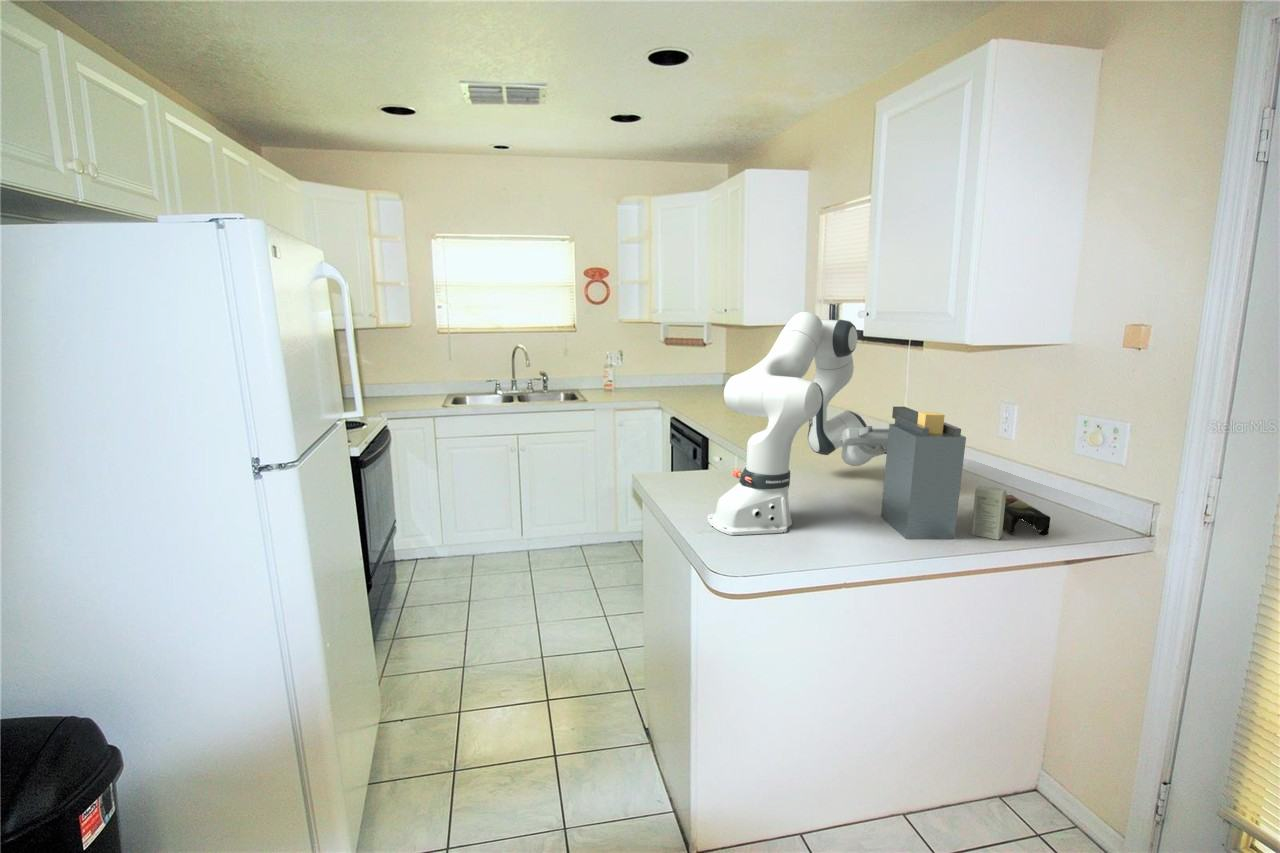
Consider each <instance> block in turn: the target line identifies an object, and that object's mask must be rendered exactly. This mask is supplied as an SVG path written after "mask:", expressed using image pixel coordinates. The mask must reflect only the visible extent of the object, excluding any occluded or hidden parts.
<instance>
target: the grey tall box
mask: <svg viewBox="0 0 1280 853" xmlns="http://www.w3.org/2000/svg"><path fill="white" fill-rule="evenodd" d="M888 429H889V434H888V445H887V454H885V455H886V459H885V469H884V478H883V490H882V491H883V492H882V502H881V510H880V511H881V512H880V518H881V519H883V520H884V522H886V523H887V524H888V525H889V526H891V527H892V528H893V529H894V530H895V531H896V532H898V533H899V535H901V536H902V537H903V538H904V539H906V540H955V536H956V535H955V534H956V526H957V517H958V511H959V501H960V500H959V499H960V492H961V483H962V478H963V477H962V475H963V469H964V468H963V467H964V459H965V449H966V443H967V437H966V436H964V435H962V428H959V427H957V426H956V425H953V424H950V423H947V422H946V421H944V425H943V433H929V428H927V427H924V426H922V425H920V424H917V423H915V422H913V421H910V420H908V419H906V418H903V417H901V416H895V419H894V423H889V425H888Z"/></svg>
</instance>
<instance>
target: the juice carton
mask: <svg viewBox="0 0 1280 853" xmlns="http://www.w3.org/2000/svg"><path fill="white" fill-rule="evenodd" d="M1020 519H1023V520H1024V521H1026V522H1028V523H1029V524H1031V525H1032V526H1033V527H1035V528H1036V529H1037V530H1036V529H1035V528H1034V529H1035V530H1036V531H1038V530H1040V531H1039V532H1038V535H1040V536H1045V535H1047V536H1048V535H1049V530H1050V525H1051V524H1050V523H1051V516H1050V515H1048V514H1045V513H1044V512H1041V510H1039V509H1037V508H1035V507H1034V506H1031V505H1029V504H1027V503H1026V502H1025V501H1023V500H1021V499H1019V498H1018V497H1016V496H1014V495H1012V494H1006V501H1005V511H1004V521H1003V532H1005V533H1006V532H1007V533H1006V534H1008V535H1009V534H1010V535H1009V536H1011V535H1014V534H1013V533H1014V531H1015V528H1016V526H1017V523H1018V522H1019V521H1020ZM1024 521H1023V522H1024ZM1028 523H1027V524H1028ZM1031 525H1030V526H1031ZM1032 526H1031V527H1032Z"/></svg>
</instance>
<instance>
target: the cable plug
mask: <svg viewBox="0 0 1280 853" xmlns="http://www.w3.org/2000/svg"><path fill="white" fill-rule="evenodd" d="M895 416H901V417H903V418H906V419H908V420H910V421H913V422H915V423H917V424H920V425H922V426H924V427H927V428H929V433H943V425H944V422H945V417H946V416H945V414H943V413H939V412H937V411H935V412H934V411H933V412H932V411H917V410H914V409H912V408H910V407H906V406H892V416H891V418H892V419H894V420H895Z"/></svg>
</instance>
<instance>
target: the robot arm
mask: <svg viewBox="0 0 1280 853" xmlns="http://www.w3.org/2000/svg"><path fill="white" fill-rule="evenodd" d="M857 330H858V329H857V327H856V326H855V325H854V324H853V322H851V321H850V320H844V319H839V320H837V319H821V318H820V317H819V316H818V315H816V314H815V313H814V312H811V311H801V312H797V313H796V314H794V315H793V316H792V317H791V318H790V319H789V320H788V321H787V322H786V323H785V325H784V326H783V327H782V328H781V331H780V333H779V334H778V337H777V338H776V340H775V342H774V343H773V346H772V347H771V349H770V351H769V352H768V353H767V355H766V356H765V357H764V358H763V359H762V360H760V361H759V362H758V363H756V364H755V365H754V366H752V367H751V368H749V369H747V370H745V371H743V372H741V373H737V374H735V375H732V376H731V377H730V378H729V379H728V380H727V382H726V383H725V385H724V388H723V399H724V400H723V401H724V403H725V405H726V406H727V408H728V409H729V410H730V411H733V412H735V413H738V414H742V415H744V416H750V417H751V416H752V417H753V416H754V417H759V418H767V419H768V423H767V426H766V428H765V429H762V430H760V431H757V432H755V433H754V434H752V435H750V437H749V439H748V441H747V444H746V461H745V467H744V469H743V471H741V470H739V469H734V470H733V471H732V473H731V474H732V476H733V478H736V479H739V480H738V481H739V482H738V483H737V484H735V485H733V487H731V488H730V489H729V490H728V491H726V492H725V493H723V495H721V496H720V497H719V498H718V501H717V503H716V509H715V512H714V513H709V514H708V515H707V518H706V521H707V523H708V522H709V523H708V524H709V525H710V526H711V527H712V526H713V527H712V528H714V529H715V530H718V532H721V533H723V534H726V535H730V536H741V535H742V536H743V535H746V536H747V535H762V534H765V535H767V534H778V533H779V534H780V533H782V534H783V532H784V533H787V531H788V528H789V527H791V526H792V524H793V521H792V516H791V511H790V502H789V501H790V498H789V488H790V484H791V470H790V461H791V460H790V457H791V451H792V444H793V441H794V438H795V436H796V434H797V433H798V431H799V430H800V428H802V426H804V425H805V424H807V422H808V424H809V425H808V432H807V441H808V442H807V443H808V445H809V447H810V448H811V450H812V451H813V452H814V453H816V454H818V455H822V456H829V455H830V454H831V453H833V452H834V451H836V450H837V449H839V448H842V449H841V459H842V460H843V462H844V463H845V464H846V465H849V466H852V467H860V466H863V465H864V464H867V463H868V462H870V461H871V460H872V459H873V458H875V457H878V456H882V455H887V445H888V434H889V428H876V427H875V428H874V427H873V426H872V425H867V423H866V422H865V420H864V419H863V418H862V416H861V415H859V414H857V413H856V412H854V411H851V410H844V411H842V412H840V413H839V414H836V415H835V416H833V417H831V418H829V419H828V418H827V411H828V406H829V403H830V402H831V401H832V399H833V398H834V397H835V396H836V395H837V394H838V393H839V392H840V391H841V390H842V389H844V388H845V387H846V386H847V385H848V384H849V382H850V381H851V380H852V378H853V374H854V370H855V369H854V368H855V367H854V359H853V352H854V351H855V350H856V348H857V344H858V331H857ZM813 360H814V363H815V374H814V378H813V380H812V381H811V380H807V379H805V378H803V377H804V376H805V375H806V374H808V373H807V372H808V371H809V369H810V366H811V364H812V362H813Z"/></svg>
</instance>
